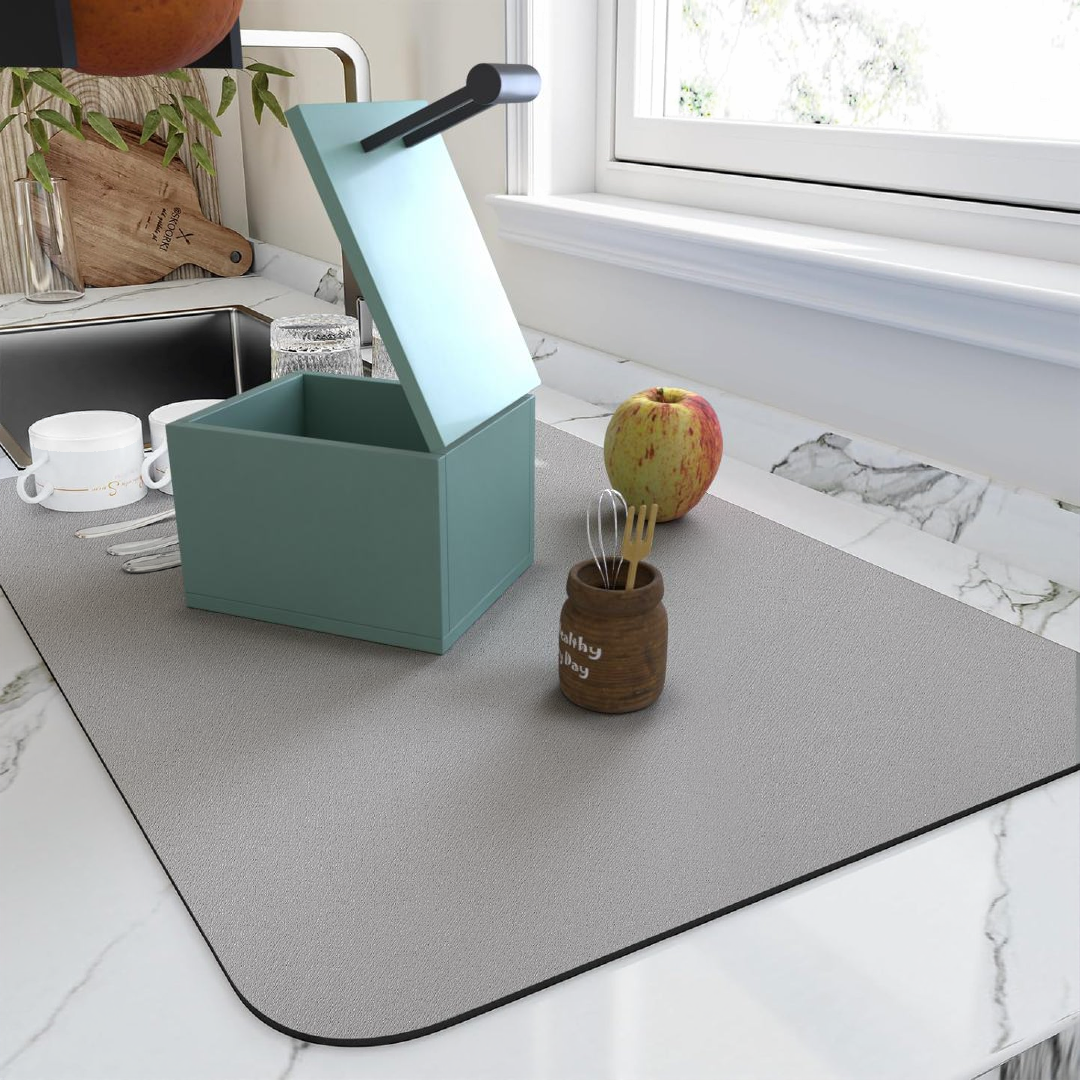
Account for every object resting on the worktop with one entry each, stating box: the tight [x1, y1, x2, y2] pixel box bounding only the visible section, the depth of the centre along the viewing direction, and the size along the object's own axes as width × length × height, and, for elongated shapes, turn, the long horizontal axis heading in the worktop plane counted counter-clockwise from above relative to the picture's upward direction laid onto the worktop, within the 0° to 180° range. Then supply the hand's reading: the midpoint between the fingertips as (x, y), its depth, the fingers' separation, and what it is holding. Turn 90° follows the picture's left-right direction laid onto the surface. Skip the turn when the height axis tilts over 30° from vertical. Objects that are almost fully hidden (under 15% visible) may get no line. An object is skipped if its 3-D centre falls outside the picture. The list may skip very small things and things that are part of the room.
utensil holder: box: [557, 489, 669, 714], centre depth 62 cm, size 6×6×12 cm
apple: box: [603, 386, 724, 523], centre depth 88 cm, size 9×9×10 cm
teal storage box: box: [164, 369, 536, 655], centre depth 75 cm, size 18×15×12 cm
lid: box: [283, 62, 542, 452], centre depth 65 cm, size 19×15×10 cm
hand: (132, 67), depth 44 cm, fingers closed on fruit, 9 cm apart
